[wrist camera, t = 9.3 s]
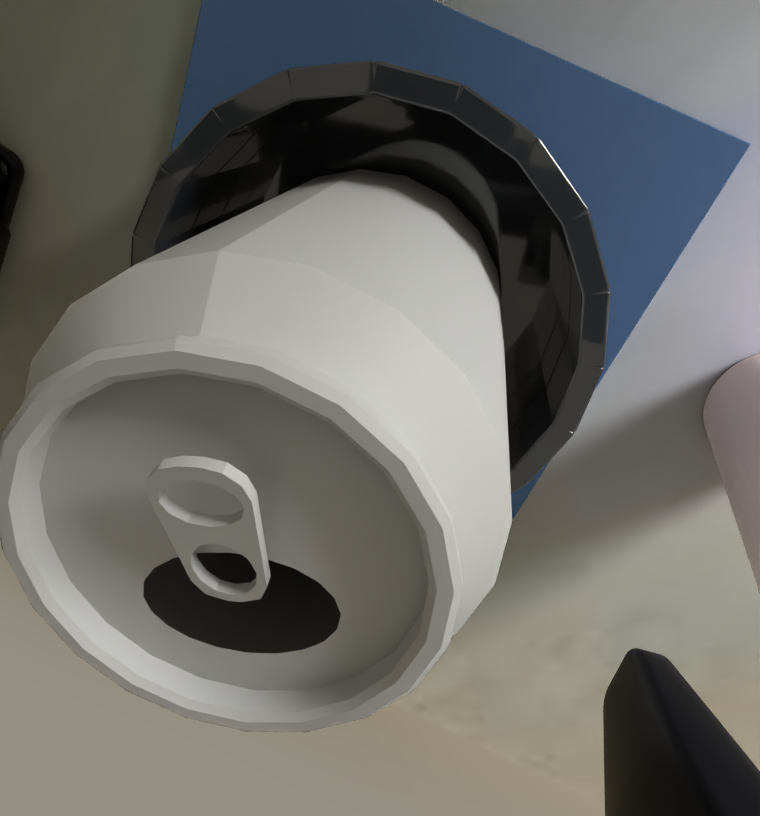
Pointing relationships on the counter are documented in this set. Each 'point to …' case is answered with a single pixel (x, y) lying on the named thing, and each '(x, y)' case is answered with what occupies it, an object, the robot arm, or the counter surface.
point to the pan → (436, 169)
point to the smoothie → (739, 447)
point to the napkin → (518, 95)
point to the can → (271, 458)
